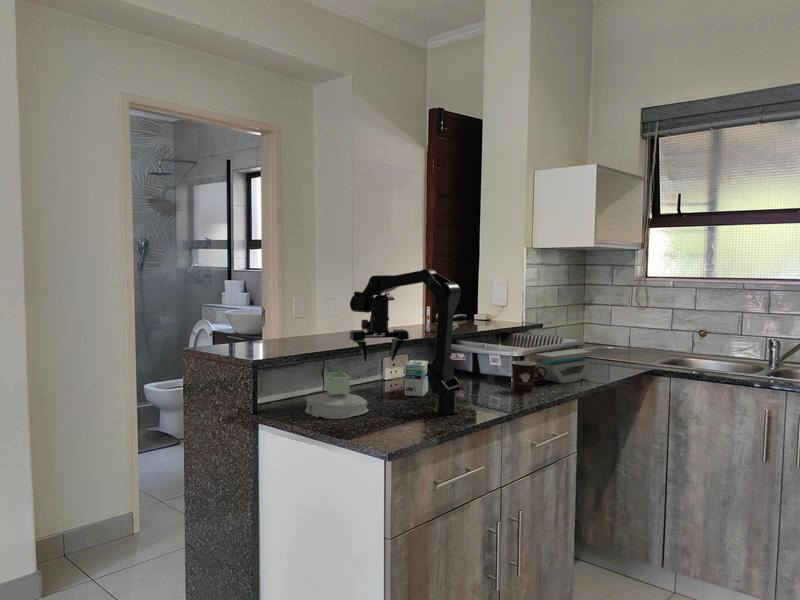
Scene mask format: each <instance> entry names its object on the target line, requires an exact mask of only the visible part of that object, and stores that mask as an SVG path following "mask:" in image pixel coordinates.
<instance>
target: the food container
mask: <svg viewBox="0 0 800 600" xmlns="http://www.w3.org/2000/svg"><path fill="white" fill-rule="evenodd" d="M305 400H306V407H305V410H304V412H305V414H308V415H311V416H313V417H316V418H319V417H321V418H324V419H331V420H332V419H333V420H337V419H347V418H352V417H355V416H360V415H364V414H365V413H368V412H369V410H370V409H369V408H367V406H369V404H368V401H367V400H366V399H365V398H363V397H362V396H359V395H357V394H351V393H349V394H335V395H329V393H328V392H323V393H317V394H312V395H310V396H309V395H308V397H306V399H305Z"/></svg>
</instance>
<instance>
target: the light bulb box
mask: <svg viewBox="0 0 800 600" xmlns="http://www.w3.org/2000/svg"><path fill="white" fill-rule="evenodd" d="M427 363H429V361H428V360H417V359H410V360H409V361H408V362H407V363H405V365H404V372H405V373H404V396H411V397H412V396H414V397H424V396H425V395H426V393H427V392H428V391H429V382H428V376H426V374H427Z"/></svg>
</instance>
